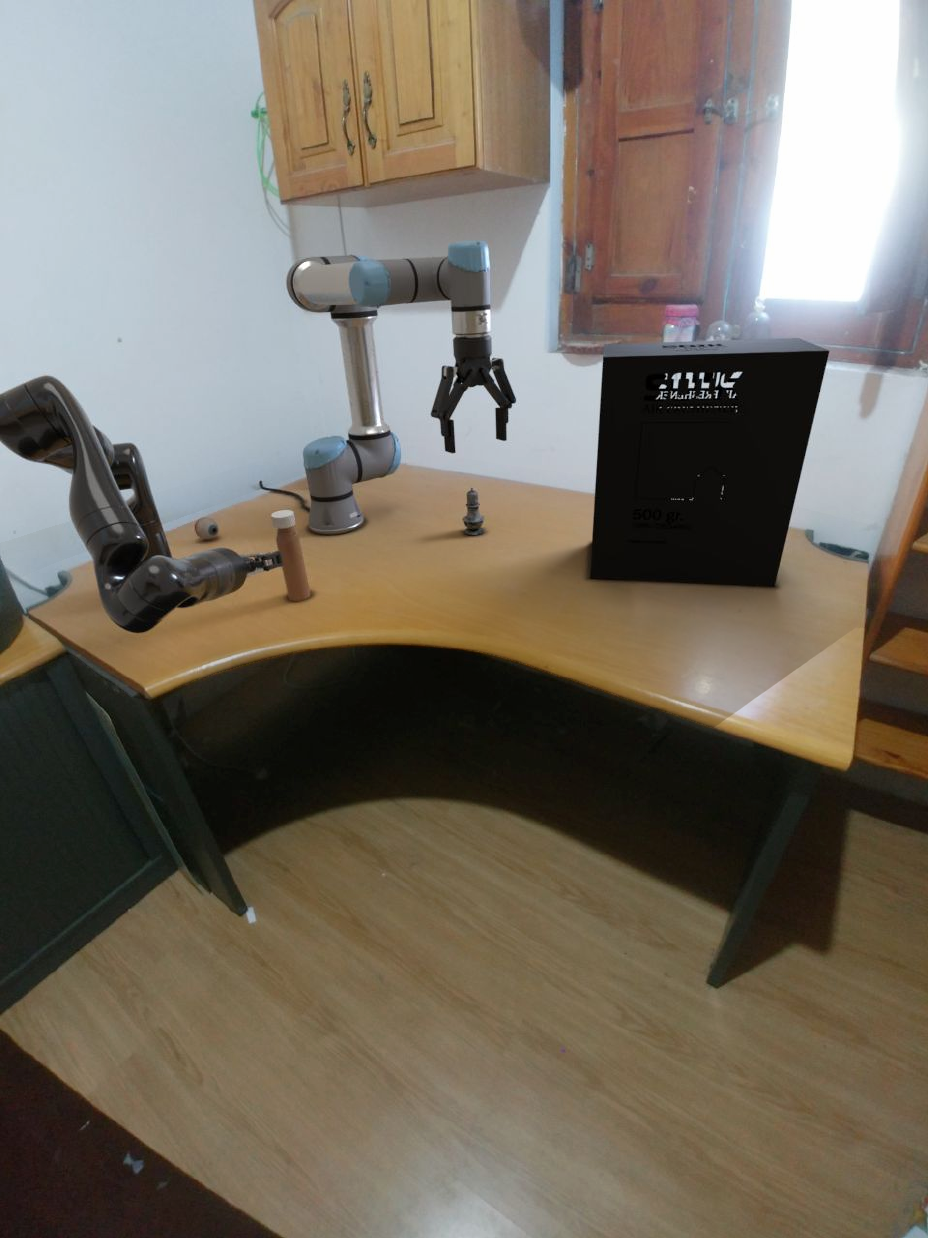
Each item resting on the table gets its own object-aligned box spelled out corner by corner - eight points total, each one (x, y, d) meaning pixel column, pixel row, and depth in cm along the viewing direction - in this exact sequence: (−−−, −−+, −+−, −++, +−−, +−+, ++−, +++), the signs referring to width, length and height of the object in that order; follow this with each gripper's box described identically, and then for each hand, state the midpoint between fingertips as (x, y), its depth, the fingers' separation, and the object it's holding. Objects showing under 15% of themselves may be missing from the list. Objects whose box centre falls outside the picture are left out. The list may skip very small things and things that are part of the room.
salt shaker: (482, 535, 157) (481, 491, 151) (460, 535, 158) (458, 490, 152) (486, 527, 162) (485, 483, 156) (465, 526, 163) (463, 483, 157)
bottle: (305, 601, 130) (288, 520, 121) (284, 600, 131) (266, 519, 122) (314, 591, 134) (298, 511, 125) (294, 590, 135) (277, 511, 126)
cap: (289, 529, 122) (287, 517, 121) (269, 528, 123) (266, 517, 122) (299, 520, 126) (297, 510, 125) (279, 520, 127) (277, 509, 126)
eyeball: (208, 544, 161) (202, 523, 158) (193, 540, 164) (187, 519, 161) (226, 536, 166) (220, 516, 163) (211, 533, 169) (205, 512, 166)
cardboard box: (755, 547, 142) (798, 337, 120) (774, 586, 125) (829, 350, 102) (592, 542, 150) (603, 344, 127) (589, 578, 133) (603, 356, 110)
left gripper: (248, 543, 92) (288, 534, 108) (163, 557, 94) (214, 546, 110) (259, 591, 94) (297, 574, 110) (175, 604, 96) (224, 586, 112)
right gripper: (429, 342, 108) (437, 460, 118) (533, 329, 120) (532, 437, 131) (407, 340, 113) (417, 454, 124) (508, 328, 125) (510, 432, 136)
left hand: (255, 560), depth 110 cm, fingers open, 8 cm apart
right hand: (476, 445), depth 127 cm, fingers open, 13 cm apart
